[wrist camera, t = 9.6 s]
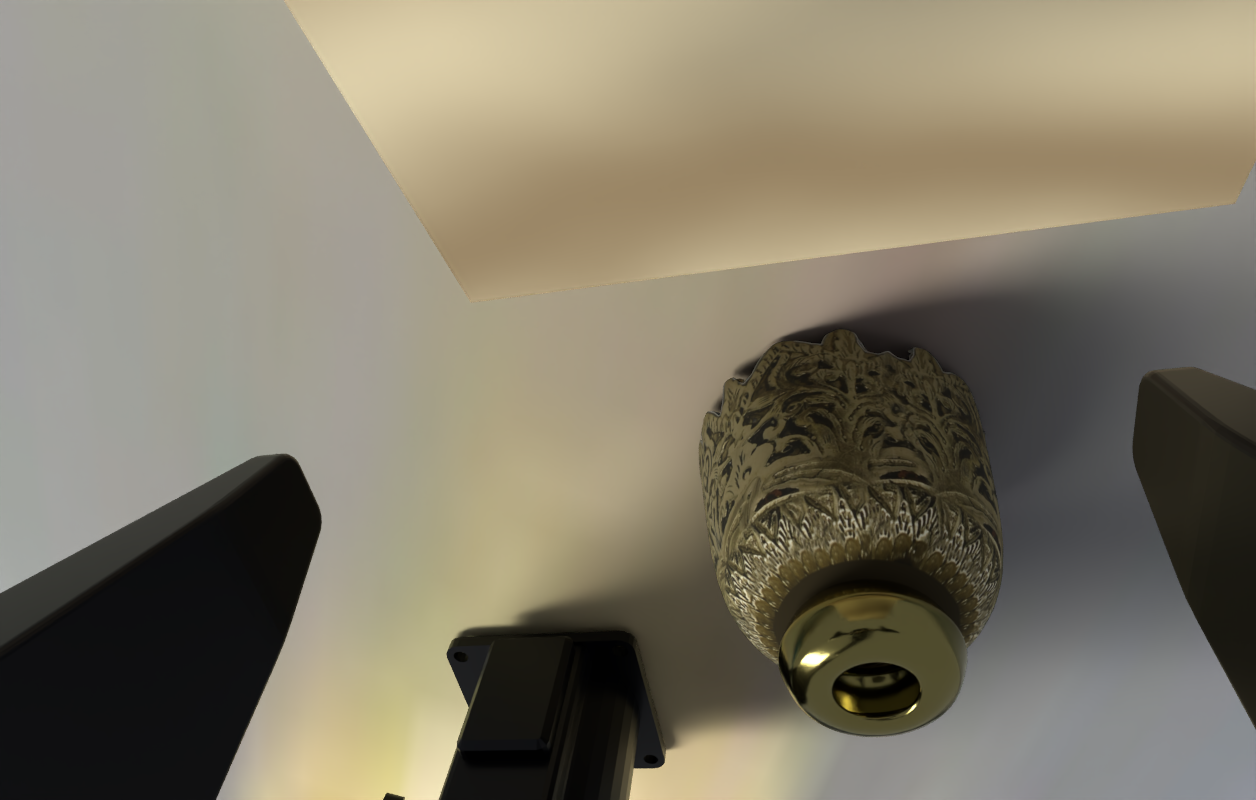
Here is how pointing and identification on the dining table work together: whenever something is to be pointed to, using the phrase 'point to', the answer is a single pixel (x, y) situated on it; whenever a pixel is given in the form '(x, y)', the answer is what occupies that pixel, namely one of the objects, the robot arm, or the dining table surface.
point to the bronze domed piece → (854, 528)
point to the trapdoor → (782, 124)
